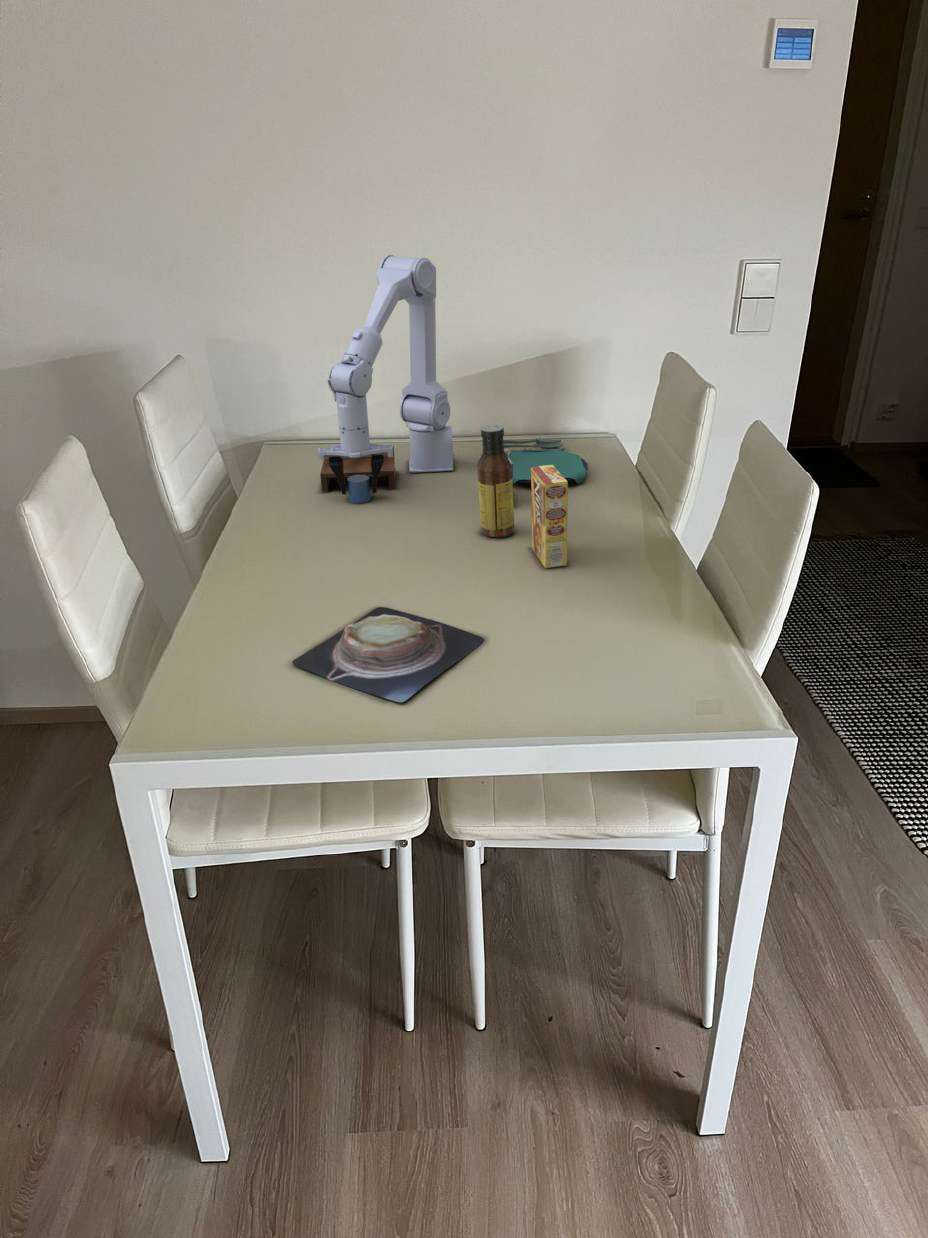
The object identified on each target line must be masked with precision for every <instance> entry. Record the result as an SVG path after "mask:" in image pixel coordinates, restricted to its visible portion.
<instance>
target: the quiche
mask: <svg viewBox="0 0 928 1238" xmlns="http://www.w3.org/2000/svg"><path fill="white" fill-rule="evenodd" d="M484 641H485V638H484V637H483V636H479V635H477V634H474V633H472V632H469V631H466V630H464V629H461V628H458V627H456V626H453V625H450V624H447V623H444V622H440V621H437V620H433V619H430V618H426V617H423V616H420V615H417V614H412V613H409V612H405V611H401V610H397V609H395V608H394V609H393V608H390V607H385V606H378V607H376V608H374V609H372V610H371V611H369V612H368V613H366V614H364V615H363V616H362V617H359V619H358V620H356V621H354V622H353V623H350V624H349V623H348V625H346V626H345V628H344V629H342V630H340V631H338V632H337V633H335V634H333V635H332V636H330V637H328V639H325V640H324V641H322V642H321V643H319V644H318V645H316V646H314V647H312V648H311V649H309V650H307V651H306V652H304V653H303V654H301V655H299V656H298V657H296V658H294V659H293V660H292V662H291V663H292V664H293V665H294V666H296V667H298V668H300V669H304V670H306V671H309V672H311V673H314V674H315V675H318V676H320V677H321V678H325V679H326V680H329V681H332V682H334V683H336V684H339V685H342V686H346V687H348V688H351V689H354V690H358V691H361V692H363V693H367V694H370V695H374V696H376V697H380V698H383V699H386V700H390V701H393V702H397V703H404V702H406V701H408V700H409V699H410V698H411V697H412V696H414V694H416V693H417V692H418V691H420V690H421V689H422V688H423V687H425V686H426V685H427V684H428V683H430V682H431V681H432V680H434V679H435V678H437V677H438V676H439V675H441V674H442V673H444V672H445V671H446V670H447V669H449V668H451V667H452V666H453V665H455V664H456V663H458V662H459V661H461V660H462V659H464V658H465V657H466V656H468V655H469V654H470V653H471V652H473V651H475V649H477V648H478V647H479V646H480V645H481V644H483V643H484Z"/></svg>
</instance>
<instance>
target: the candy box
mask: <svg viewBox="0 0 928 1238" xmlns="http://www.w3.org/2000/svg"><path fill="white" fill-rule="evenodd" d="M530 491H531V492H530V493H531V496H530V497H531V499H530V500H531V503H530V504H531V549H532V550H533V552H534V554H535V555H536V557H537V559H538V560H539V561H540V563H541V564H542V566H543V567H544V568H545V569H551V568H557V567H565V566H567V565H568V509H569V508H568V506H569V505H568V504H569V503H568V500H569V494H568V493H569V492H568V491H569V480H568V481H567V480H566V479H565V478H564V477H563V476H562V474H561V473H560V472H559V471H558V470H557V469H556V468H555V467H554V466H553V465H545V466H536V467H531V484H530Z"/></svg>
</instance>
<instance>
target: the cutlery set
mask: <svg viewBox="0 0 928 1238" xmlns="http://www.w3.org/2000/svg"><path fill="white" fill-rule="evenodd" d="M531 443H535V445H534V444H531ZM503 444H504V448H505V449H509V448H522V449H518V450H515V449H514V450H509V451H510V452H511V456H510V460H511V461H512V463H513V485H514V484H515V483H523V484H529V485H531V467H536V466H545V465H553V466H554V467H555V468H556V469H557V470H558V471H559V472H560V473H561V474H562V476H563V477H564V478H565V479H566V480H567V481H568V482H569V481H572V480H574V481H575V483H576V484H577V485H579V484H580V483H581V482H582V481H583V480H584V479H585V478H586V476H587V471H588V467H589V466H588V465H589V463H588V462H587V461H586V460H585V459H584V458H582V457H581V455H579V454H576V453H572V452H568V451H565V448H562V447H563V446H564V443H562V439H546V438H545V439H543V438H540V437H539V438H538V437H536V438H535V439H527V440H516V439H515V440H512V439H503ZM532 448H540V449H532Z"/></svg>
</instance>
